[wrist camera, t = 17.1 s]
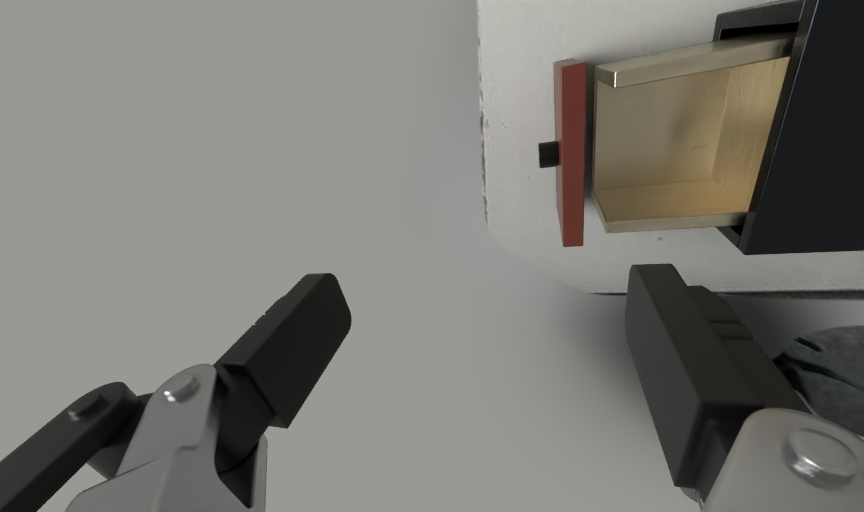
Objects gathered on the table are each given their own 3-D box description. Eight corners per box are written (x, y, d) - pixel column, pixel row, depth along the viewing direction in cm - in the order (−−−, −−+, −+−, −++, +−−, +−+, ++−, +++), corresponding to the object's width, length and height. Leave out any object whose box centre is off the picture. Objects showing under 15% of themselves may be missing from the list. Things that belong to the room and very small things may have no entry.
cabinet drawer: (541, 207, 28) (543, 248, 22) (534, 66, 23) (535, 72, 17) (712, 192, 24) (767, 236, 18) (749, 19, 19) (840, 7, 13)
